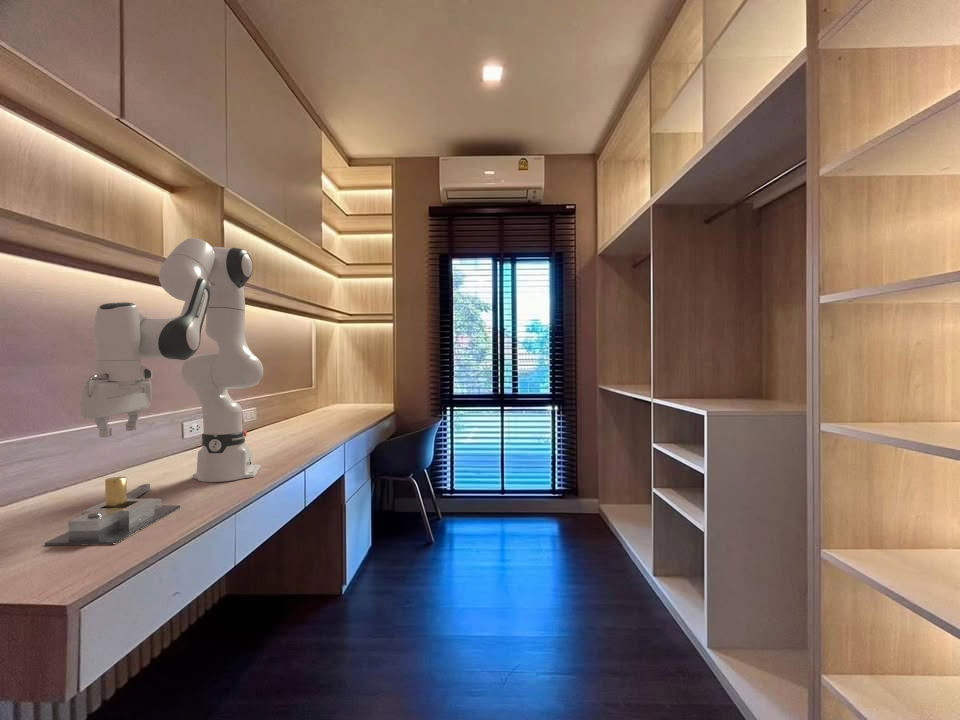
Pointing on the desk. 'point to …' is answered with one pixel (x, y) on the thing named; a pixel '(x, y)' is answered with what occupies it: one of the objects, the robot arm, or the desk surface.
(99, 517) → the sliding bolt latch
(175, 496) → the desk surface
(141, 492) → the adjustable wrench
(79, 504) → the desk surface
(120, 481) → the brass pin
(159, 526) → the desk surface
